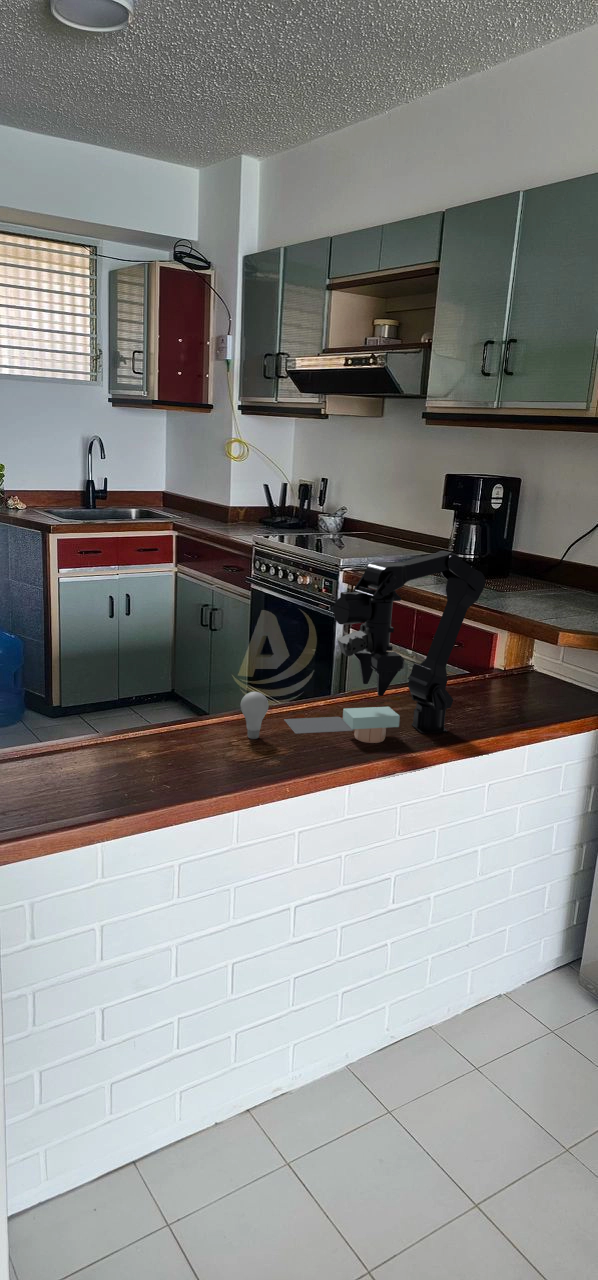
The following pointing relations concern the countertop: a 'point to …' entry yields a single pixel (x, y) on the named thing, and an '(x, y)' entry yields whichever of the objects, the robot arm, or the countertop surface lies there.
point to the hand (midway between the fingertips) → (372, 689)
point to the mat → (318, 725)
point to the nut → (370, 735)
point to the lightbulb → (254, 712)
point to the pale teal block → (371, 717)
